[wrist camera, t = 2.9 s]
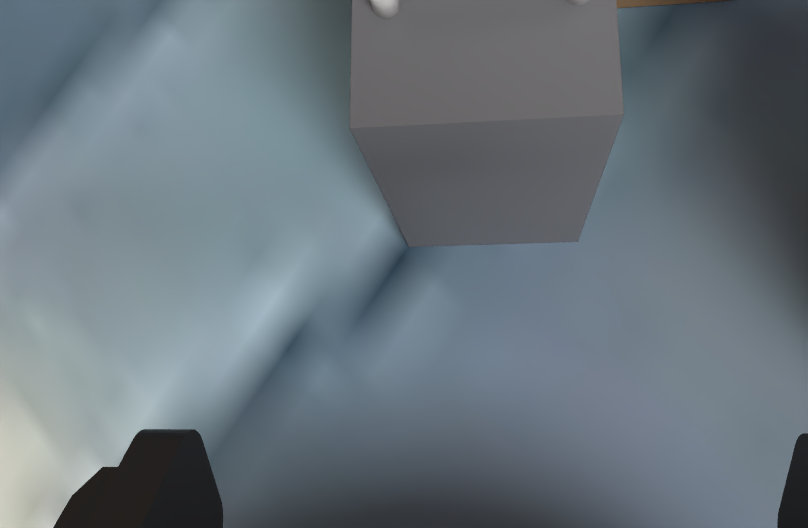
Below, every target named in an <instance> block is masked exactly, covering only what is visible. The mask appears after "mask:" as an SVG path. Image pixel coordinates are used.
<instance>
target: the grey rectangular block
mask: <svg viewBox="0 0 808 528" xmlns="http://www.w3.org/2000/svg"><path fill="white" fill-rule="evenodd" d="M623 116H624V108H623V94H622V79H621V64H620V49H619V34H618V20H617V5H616V0H352V31H351V84H350V130H351V132H352V134H353V136H354V138H355V140H356V142H357V144H358V146H359V148H360V150H361V152H362V154H363V156H364V158H365V160H366V162H367V164H368V166H369V168H370V170H371V172H372V174H373V176H374V178H375V180H376V182H377V184H378V186H379V188H380V190H381V192H382V194H383V196H384V198H385V200H386V202H387V204H388V206H389V208H390V210H391V212H392V214H393V216H394V218H395V220H396V222H397V224H398V226H399V228H400V230H401V232H402V234H403V236H404V238H405V240H406V242H407V244H408V246H409V247H422V246H455V245H488V244H521V243H554V242H578V240H579V237H580V234H581V232H582V229H583V226H584V223H585V220H586V218H587V215H588V212H589V209H590V207H591V204H592V201H593V198H594V196H595V193H596V190H597V187H598V185H599V182H600V179H601V176H602V174H603V171H604V168H605V165H606V162H607V160H608V157H609V154H610V151H611V149H612V146H613V143H614V140H615V138H616V135H617V132H618V129H619V127H620V124H621V121H622V118H623Z"/></svg>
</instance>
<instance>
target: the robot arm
mask: <svg viewBox="0 0 808 528" xmlns="http://www.w3.org/2000/svg"><path fill="white" fill-rule="evenodd" d="M53 528H223V508H222V502H221V498H220V495H219V492H218V489H217V485H216V482H215V479H214V476H213V473H212V470H211V466H210V463H209V460H208V457H207V454H206V450H205V447H204V444H203V441H202V438H201V436H200V434H199V433H198V432H197V431H196V430H172V429H144V430H141V431H140V432H139V433H138V434H137V435H136V436H135V437H134V439H133V441H132V442H131V444H130V446H129V448H128V450H127V452H126V453H125V455H124V457H123V459H122V461H121V463H120V465H119V466H118V467H102V468H101V469H100V470H99V471H98V472H97V473H96V474H95V475H94V476H93V477H92V478H91V479H89V480H88V481H87V482H86V483H85V484H84V485H83V486H82V487H81V488H80V489H79V490H78V491H77V492H76V493H74V494H73V495H72V497H71V498H70V500H69V502H68V503H67V505H66V507H65V508H64V510H63V512H62V514H61V515H60V517H59V519H58V520H57V522H56V524H55V526H54V527H53ZM778 528H808V434H807V433H806V434H801V435H800V436H799V437H798V439H797V441H796V444H795V448H794V452H793V456H792V460H791V464H790V468H789V472H788V476H787V480H786V484H785V488H784V492H783V496H782V500H781V504H780V508H779V513H778Z"/></svg>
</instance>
